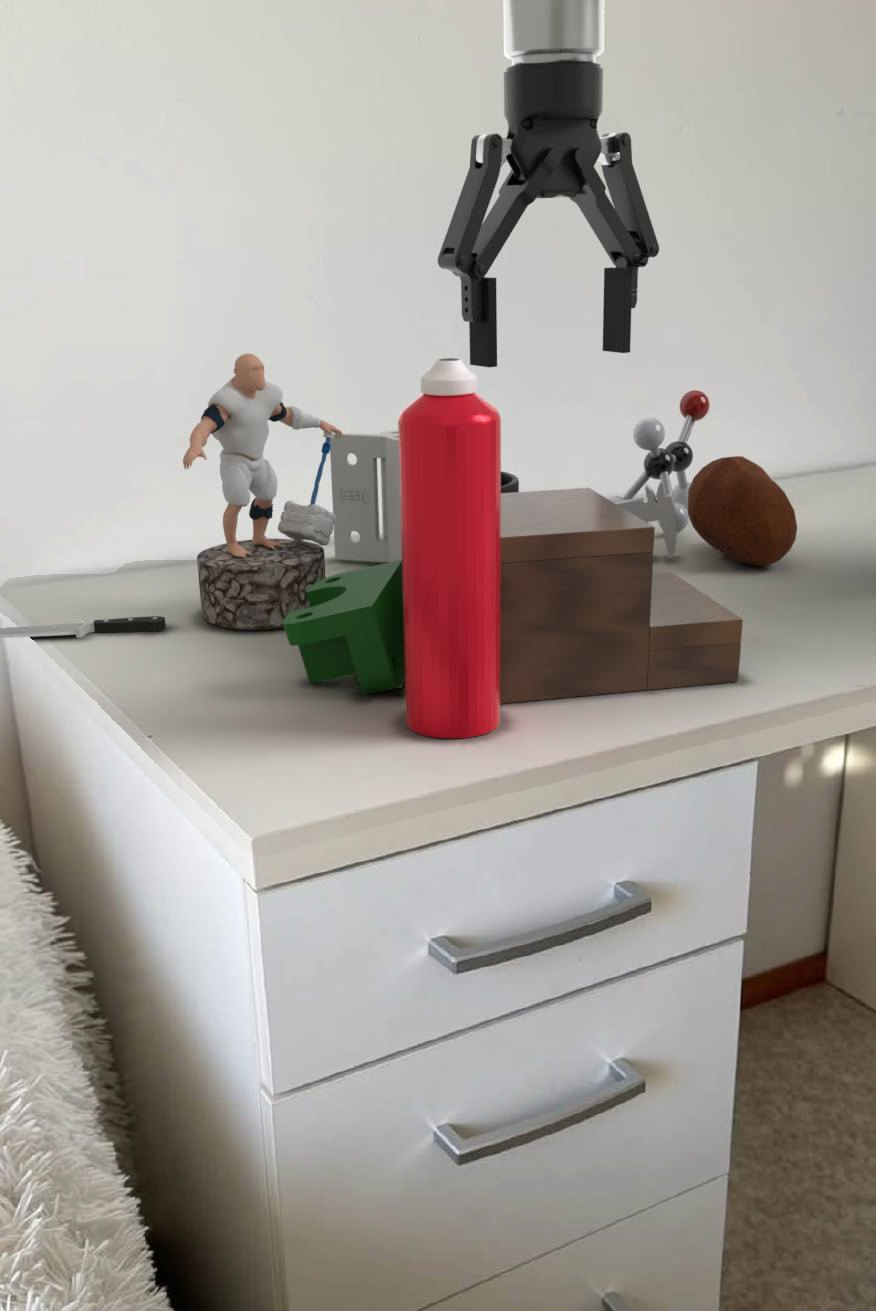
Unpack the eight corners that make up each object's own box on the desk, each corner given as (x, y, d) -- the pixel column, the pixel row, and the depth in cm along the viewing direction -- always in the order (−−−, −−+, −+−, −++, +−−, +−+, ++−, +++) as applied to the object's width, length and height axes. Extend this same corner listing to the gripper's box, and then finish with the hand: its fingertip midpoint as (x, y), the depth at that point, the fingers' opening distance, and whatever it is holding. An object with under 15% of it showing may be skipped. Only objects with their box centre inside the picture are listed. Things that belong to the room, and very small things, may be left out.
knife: (-53, 636, 97) (-47, 628, 99) (-51, 646, 98) (-45, 638, 99) (163, 623, 99) (165, 615, 100) (164, 632, 99) (166, 624, 101)
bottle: (457, 699, 86) (453, 350, 77) (519, 722, 82) (522, 358, 73) (387, 721, 82) (374, 359, 74) (448, 746, 79) (443, 368, 70)
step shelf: (667, 627, 98) (675, 481, 94) (738, 681, 88) (751, 520, 84) (443, 646, 95) (441, 496, 91) (488, 705, 85) (489, 538, 80)
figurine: (232, 648, 95) (209, 368, 88) (148, 626, 100) (119, 359, 93) (376, 601, 106) (367, 346, 98) (293, 583, 111) (278, 339, 103)
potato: (737, 586, 111) (732, 487, 106) (663, 549, 120) (656, 456, 116) (820, 559, 112) (818, 461, 108) (741, 524, 122) (736, 432, 118)
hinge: (331, 558, 117) (326, 432, 113) (378, 547, 120) (374, 424, 116) (453, 586, 108) (452, 451, 104) (500, 573, 112) (501, 442, 107)
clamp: (349, 714, 96) (325, 582, 96) (434, 696, 95) (409, 562, 95) (291, 704, 84) (263, 554, 84) (386, 683, 83) (358, 531, 83)
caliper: (675, 558, 116) (679, 480, 113) (674, 561, 115) (679, 483, 112) (431, 550, 120) (429, 475, 117) (428, 553, 119) (427, 477, 116)
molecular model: (594, 527, 125) (598, 402, 121) (652, 502, 134) (658, 385, 130) (680, 538, 121) (687, 409, 117) (734, 511, 130) (743, 391, 126)
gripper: (647, 68, 116) (638, 342, 125) (386, 63, 104) (398, 367, 113) (710, 60, 110) (697, 348, 119) (442, 54, 98) (450, 375, 107)
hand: (551, 358), depth 116 cm, fingers open, 13 cm apart
